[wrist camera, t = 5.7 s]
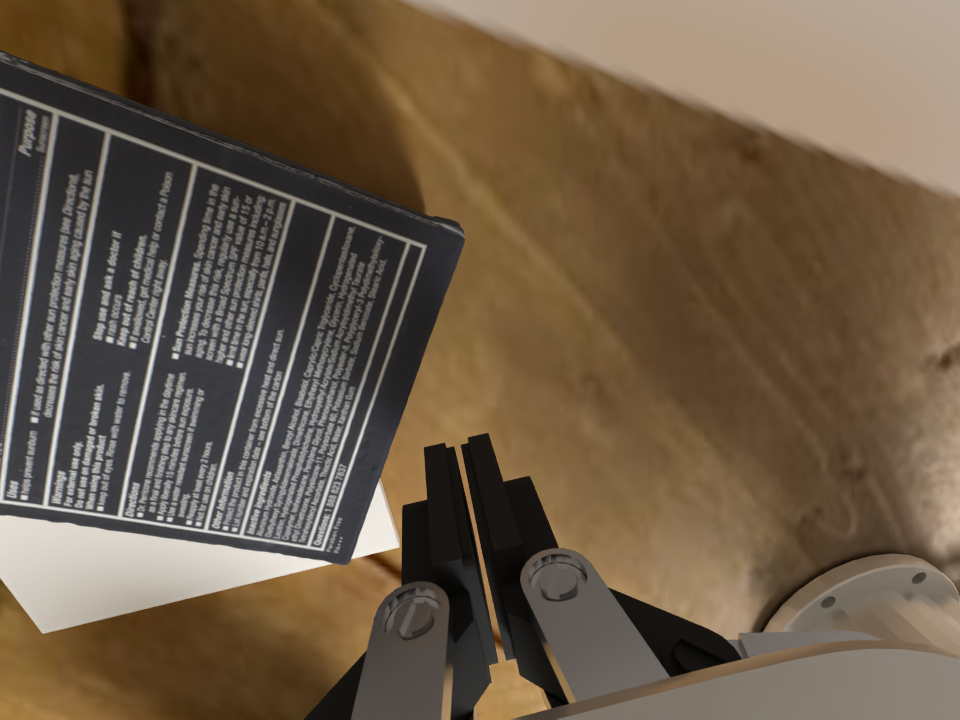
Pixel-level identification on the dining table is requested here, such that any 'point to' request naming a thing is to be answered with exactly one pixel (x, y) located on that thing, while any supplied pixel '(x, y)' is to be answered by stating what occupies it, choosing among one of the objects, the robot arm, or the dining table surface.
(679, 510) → the dining table surface
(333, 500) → the small box
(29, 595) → the white mat
